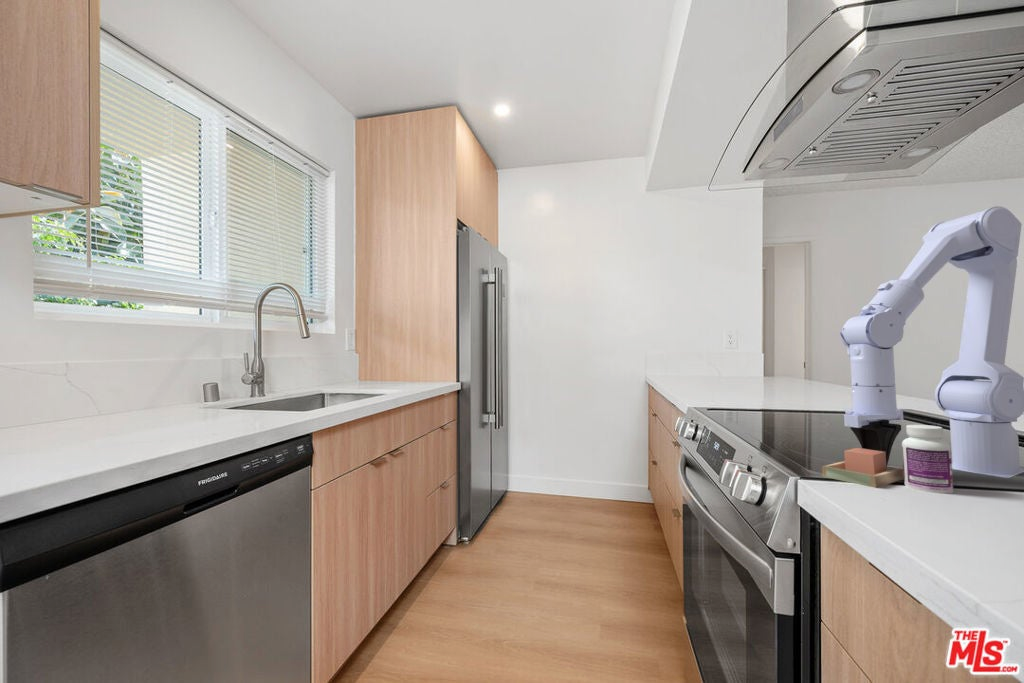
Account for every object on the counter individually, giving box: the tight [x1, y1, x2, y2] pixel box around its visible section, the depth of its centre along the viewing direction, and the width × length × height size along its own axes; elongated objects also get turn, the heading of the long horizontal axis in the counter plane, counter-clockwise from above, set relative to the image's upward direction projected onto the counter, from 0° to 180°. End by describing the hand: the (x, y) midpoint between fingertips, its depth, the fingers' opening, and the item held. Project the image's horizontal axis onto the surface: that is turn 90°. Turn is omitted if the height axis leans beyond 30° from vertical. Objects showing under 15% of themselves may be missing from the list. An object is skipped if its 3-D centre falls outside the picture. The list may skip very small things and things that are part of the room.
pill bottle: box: [901, 424, 954, 494], centre depth 65 cm, size 5×5×10 cm
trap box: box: [821, 460, 904, 489], centre depth 72 cm, size 16×7×2 cm, turn 117°
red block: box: [843, 447, 887, 475], centre depth 71 cm, size 4×4×4 cm
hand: (877, 466), depth 73 cm, fingers closed
